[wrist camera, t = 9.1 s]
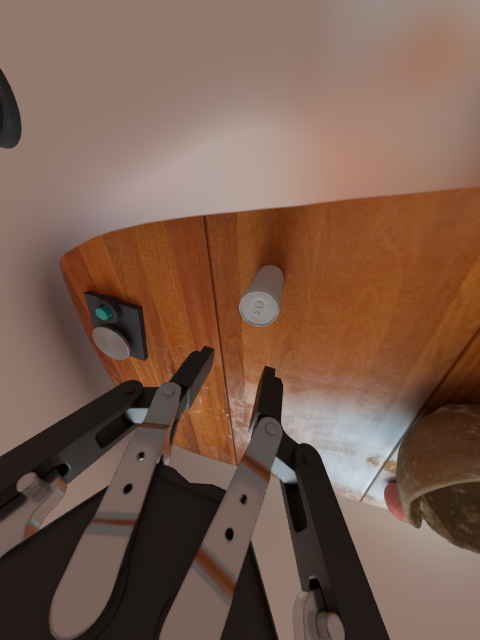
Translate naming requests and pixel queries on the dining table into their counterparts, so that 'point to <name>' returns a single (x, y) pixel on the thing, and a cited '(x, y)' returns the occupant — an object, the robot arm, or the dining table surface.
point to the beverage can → (263, 297)
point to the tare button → (103, 312)
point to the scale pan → (111, 342)
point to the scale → (121, 321)
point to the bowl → (443, 474)
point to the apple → (394, 502)
